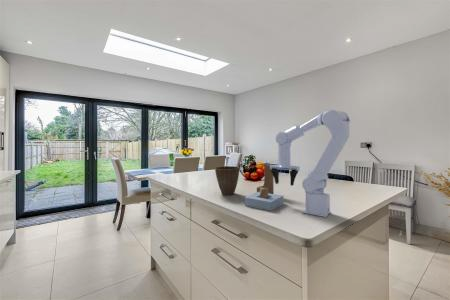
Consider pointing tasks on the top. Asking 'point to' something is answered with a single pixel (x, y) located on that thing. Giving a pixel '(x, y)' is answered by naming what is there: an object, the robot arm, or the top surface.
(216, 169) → the plant pot
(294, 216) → the top surface
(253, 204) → the socket
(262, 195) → the peg
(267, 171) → the wooden block
